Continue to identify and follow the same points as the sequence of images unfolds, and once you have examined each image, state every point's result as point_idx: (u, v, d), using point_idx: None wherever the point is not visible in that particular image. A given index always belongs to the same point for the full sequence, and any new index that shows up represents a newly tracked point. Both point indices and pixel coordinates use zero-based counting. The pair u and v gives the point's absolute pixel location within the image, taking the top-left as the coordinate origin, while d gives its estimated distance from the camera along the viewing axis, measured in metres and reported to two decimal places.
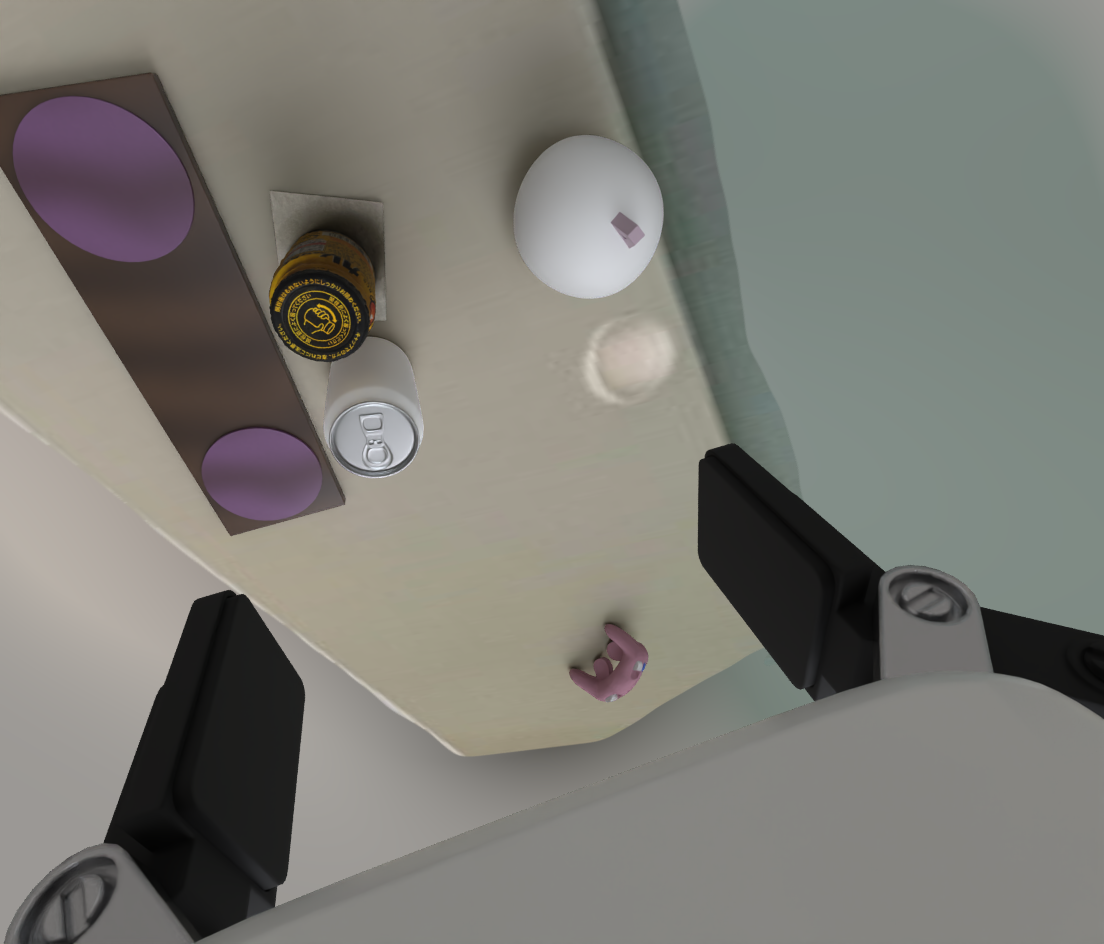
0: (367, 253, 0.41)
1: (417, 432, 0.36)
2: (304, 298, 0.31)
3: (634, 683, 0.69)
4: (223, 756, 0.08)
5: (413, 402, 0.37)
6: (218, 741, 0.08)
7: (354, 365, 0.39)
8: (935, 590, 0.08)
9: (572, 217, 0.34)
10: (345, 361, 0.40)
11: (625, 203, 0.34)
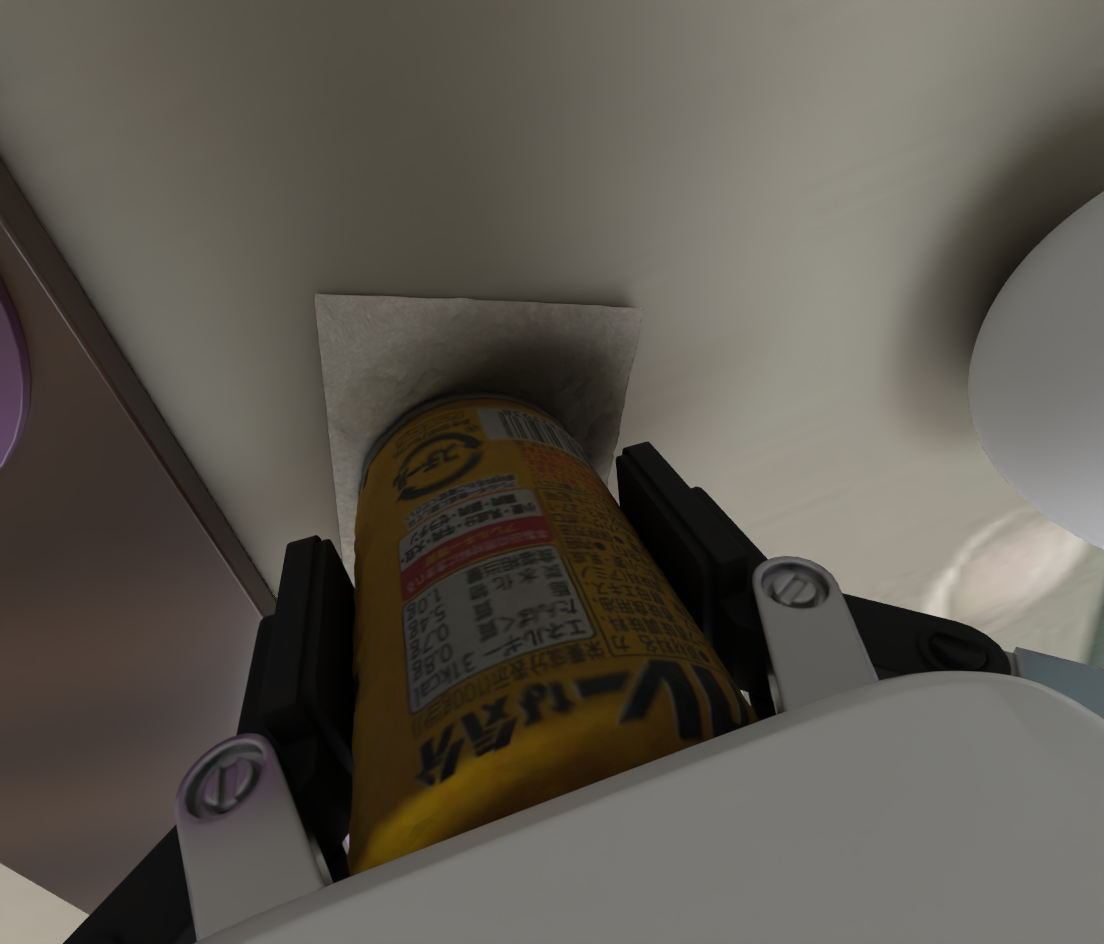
0: (573, 437, 0.15)
1: None
2: None
3: None
4: (332, 671, 0.09)
5: None
6: (327, 657, 0.09)
7: None
8: (799, 576, 0.09)
9: None
10: None
11: None
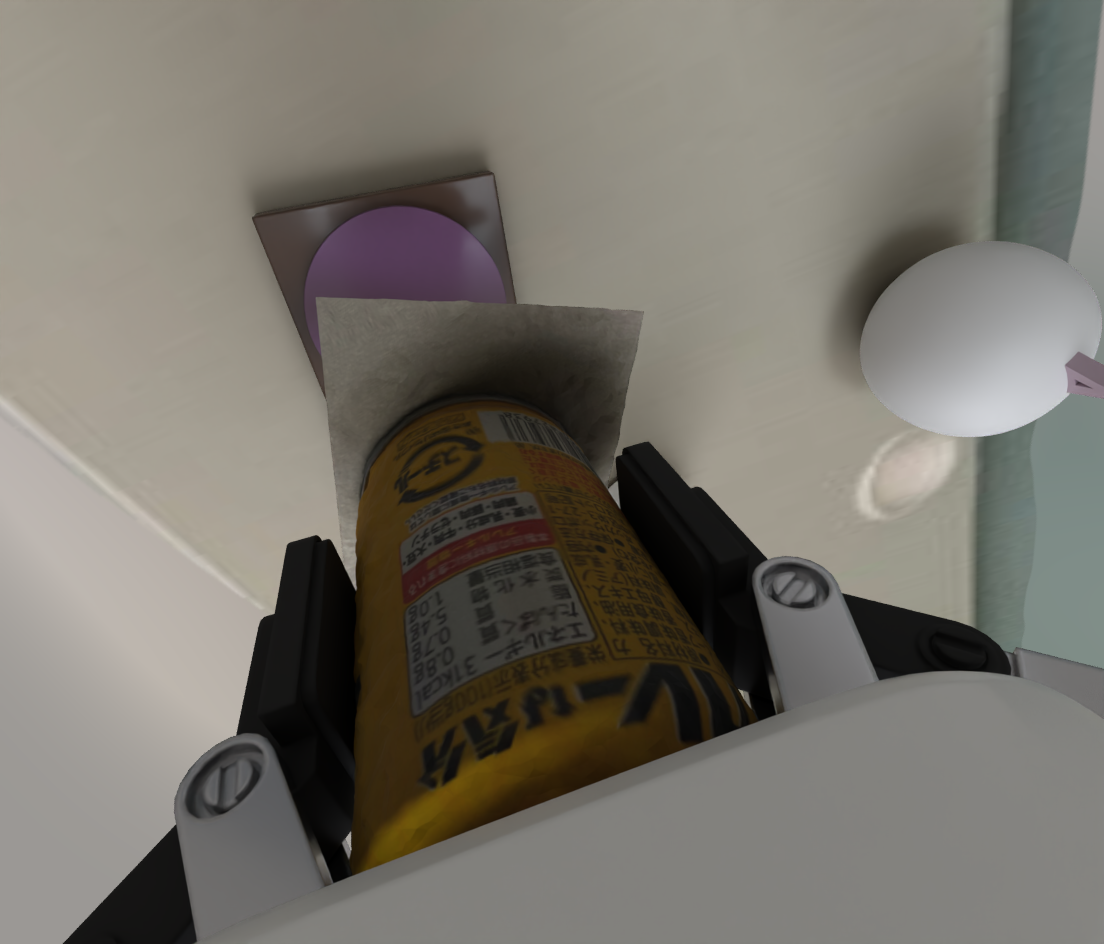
0: (574, 439, 0.15)
1: None
2: None
3: None
4: (332, 671, 0.09)
5: None
6: (327, 657, 0.09)
7: None
8: (798, 576, 0.09)
9: (1018, 358, 0.26)
10: None
11: (1086, 340, 0.26)
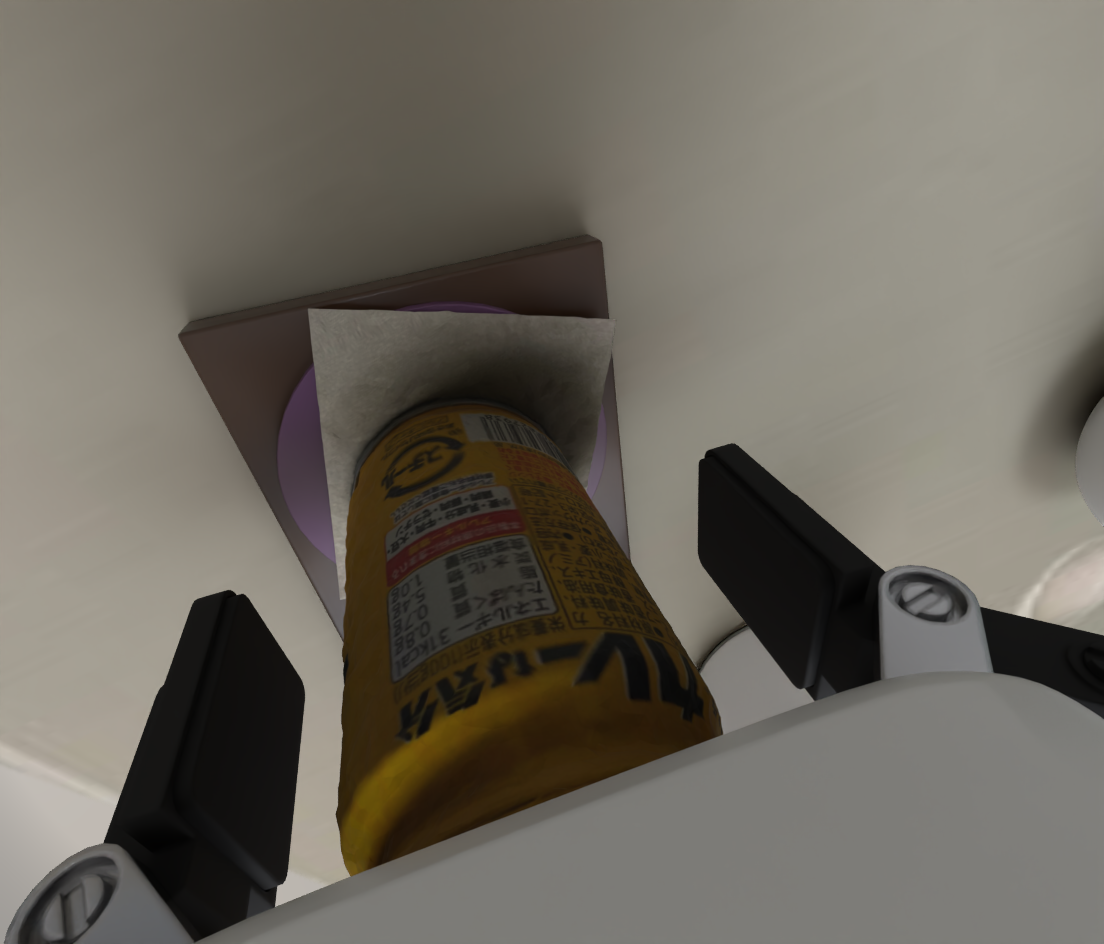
0: (554, 440, 0.16)
1: None
2: None
3: None
4: (223, 756, 0.08)
5: None
6: (218, 741, 0.08)
7: None
8: (935, 590, 0.08)
9: None
10: None
11: None
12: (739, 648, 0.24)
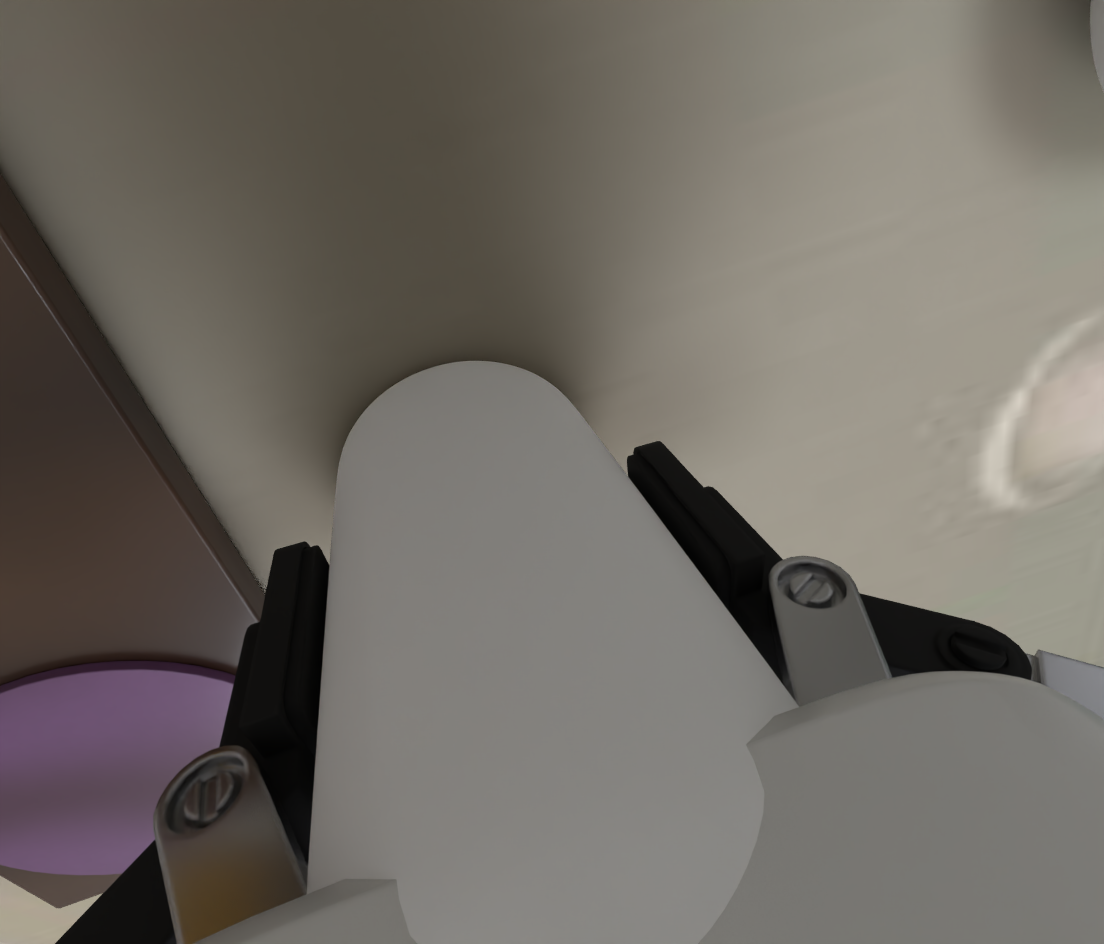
0: None
1: None
2: None
3: None
4: (317, 680, 0.09)
5: None
6: (313, 667, 0.09)
7: (464, 526, 0.07)
8: (816, 576, 0.09)
9: None
10: (409, 483, 0.09)
11: None
12: (384, 401, 0.12)
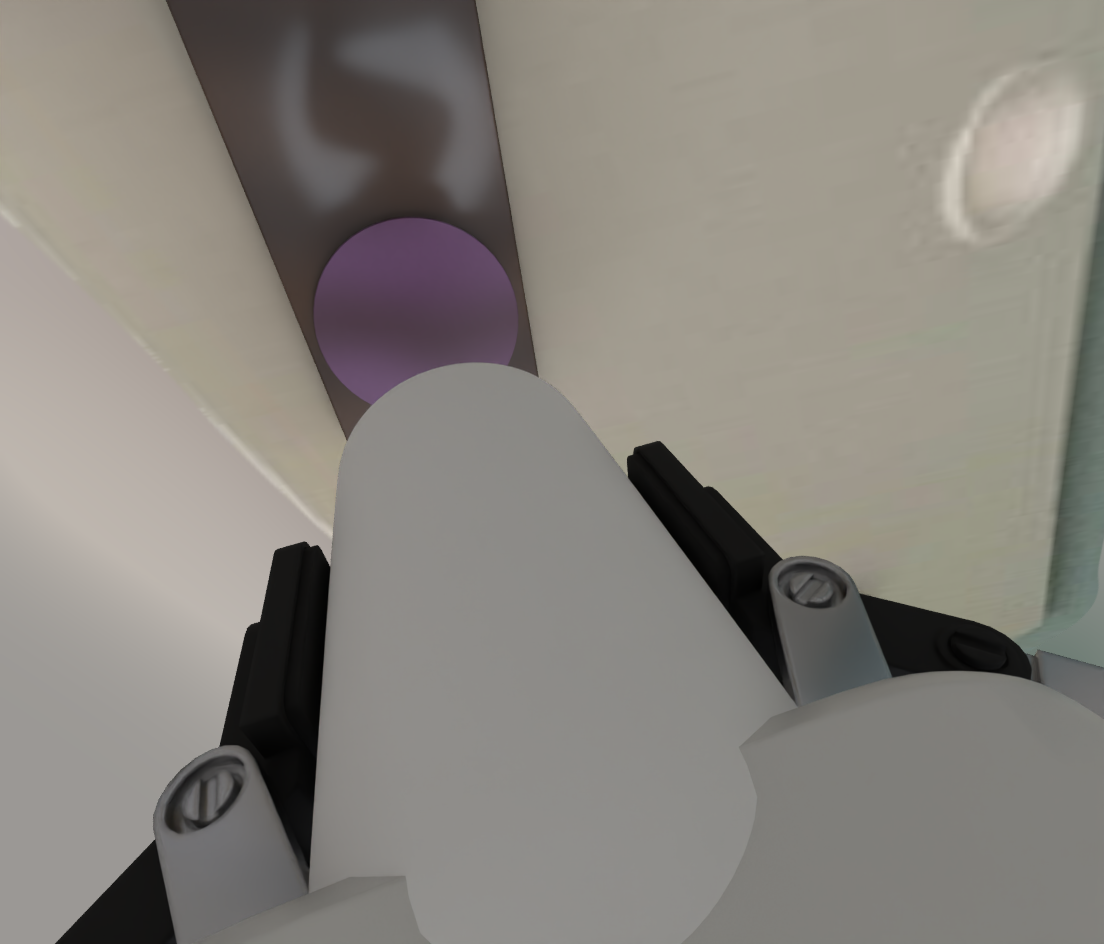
0: None
1: None
2: None
3: None
4: (317, 680, 0.09)
5: None
6: (313, 667, 0.09)
7: (465, 528, 0.07)
8: (816, 576, 0.09)
9: None
10: (410, 485, 0.09)
11: None
12: (385, 403, 0.12)
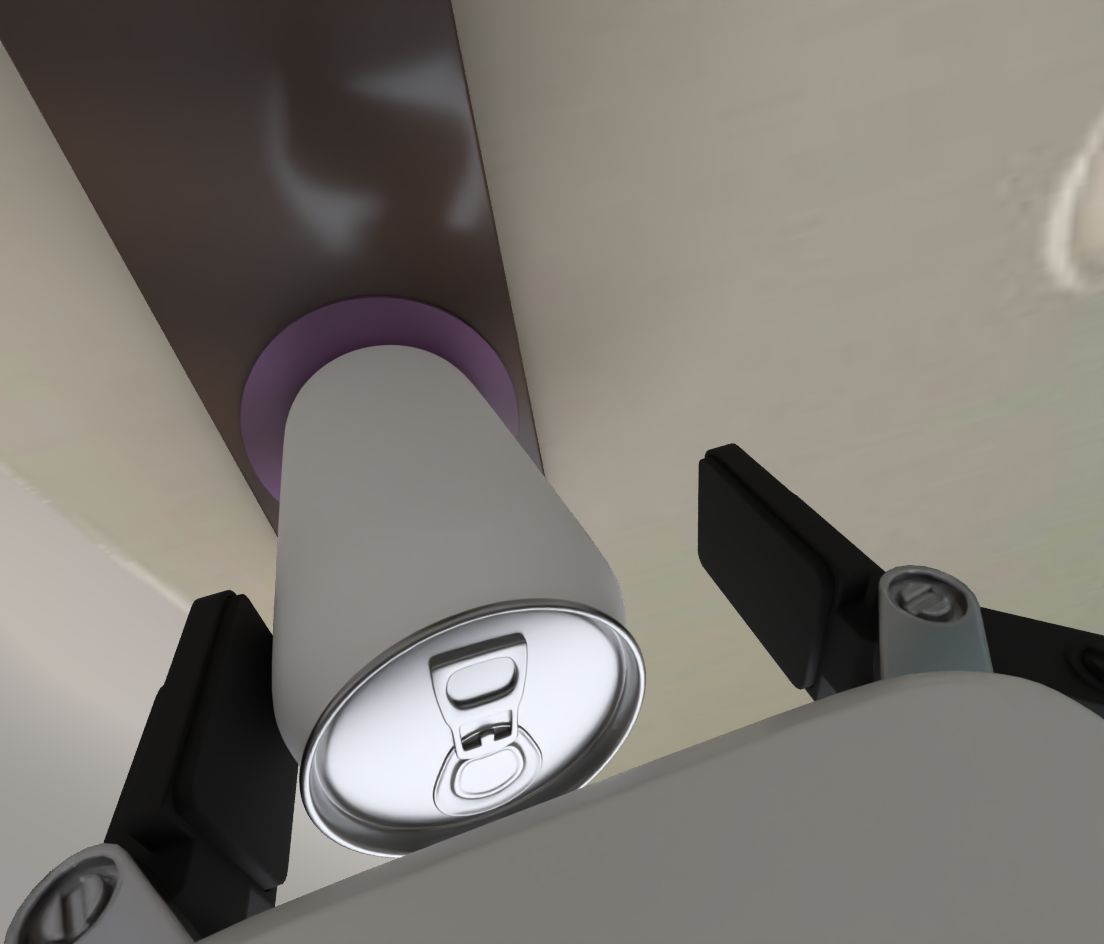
0: None
1: (642, 678, 0.10)
2: None
3: None
4: (223, 756, 0.08)
5: (602, 556, 0.10)
6: (218, 741, 0.08)
7: (367, 432, 0.12)
8: (935, 590, 0.08)
9: None
10: (333, 417, 0.13)
11: None
12: (317, 376, 0.16)
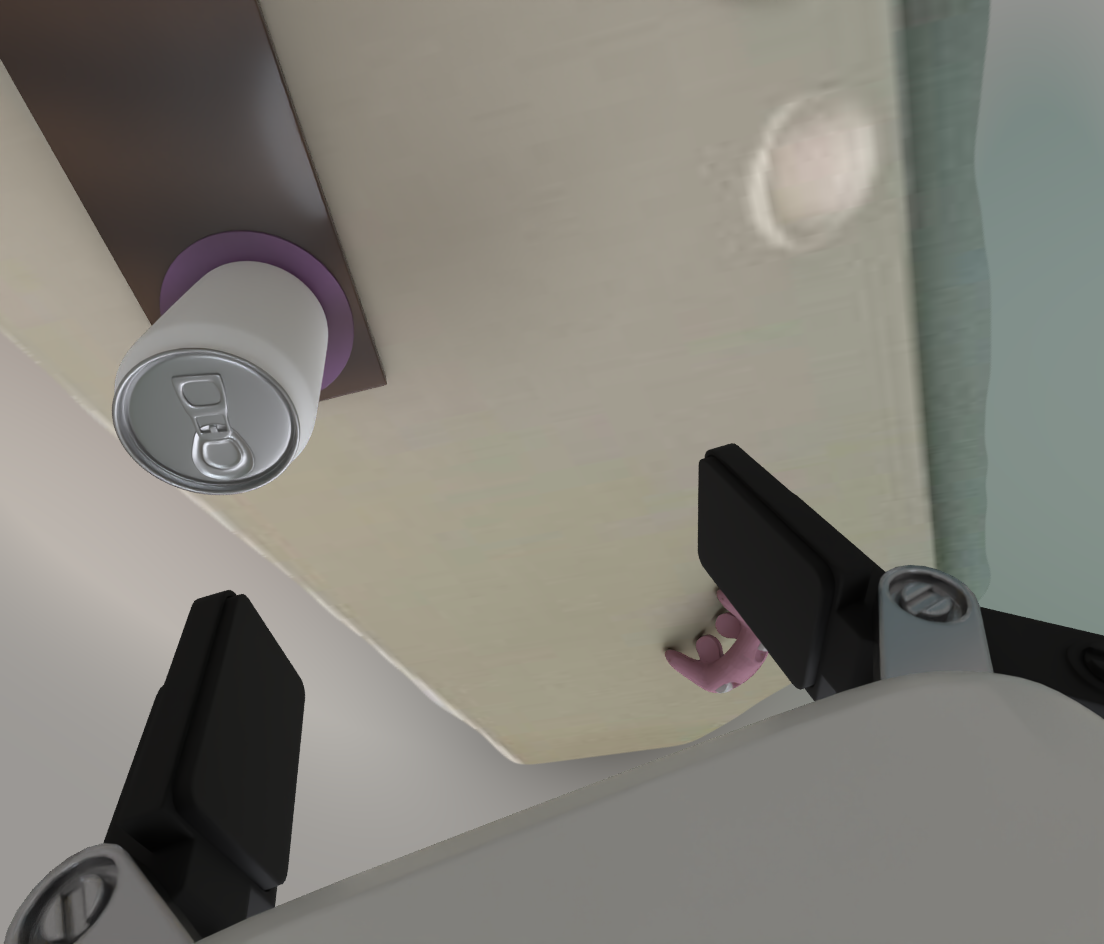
0: None
1: (293, 411, 0.20)
2: None
3: (758, 668, 0.52)
4: (223, 756, 0.08)
5: (290, 357, 0.20)
6: (218, 741, 0.08)
7: (193, 294, 0.22)
8: (935, 590, 0.08)
9: None
10: (188, 291, 0.23)
11: None
12: None
